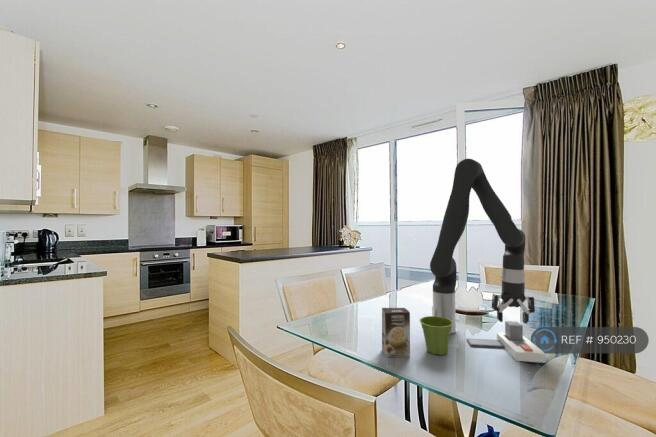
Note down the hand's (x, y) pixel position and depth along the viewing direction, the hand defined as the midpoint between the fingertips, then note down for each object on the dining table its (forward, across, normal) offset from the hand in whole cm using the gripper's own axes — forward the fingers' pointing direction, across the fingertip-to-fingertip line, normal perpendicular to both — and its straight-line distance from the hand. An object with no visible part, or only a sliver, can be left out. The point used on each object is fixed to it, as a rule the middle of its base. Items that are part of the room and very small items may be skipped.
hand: (512, 322), depth 115 cm
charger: (+8, 0, 0) cm, 8 cm away
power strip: (+9, 0, -4) cm, 10 cm away
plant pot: (+10, -29, -9) cm, 32 cm away
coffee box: (+10, -44, -13) cm, 47 cm away
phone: (+9, -10, 0) cm, 14 cm away
